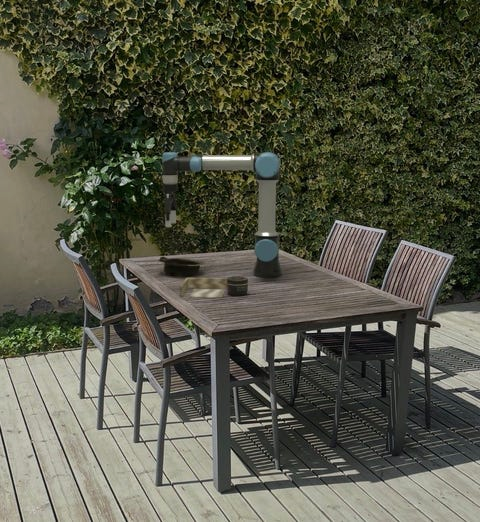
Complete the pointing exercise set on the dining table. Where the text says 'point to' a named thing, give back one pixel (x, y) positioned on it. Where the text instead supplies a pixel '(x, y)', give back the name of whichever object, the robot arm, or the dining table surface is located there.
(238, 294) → the jar
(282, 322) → the dining table surface
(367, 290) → the dining table surface
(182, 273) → the stone bowl
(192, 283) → the arena
